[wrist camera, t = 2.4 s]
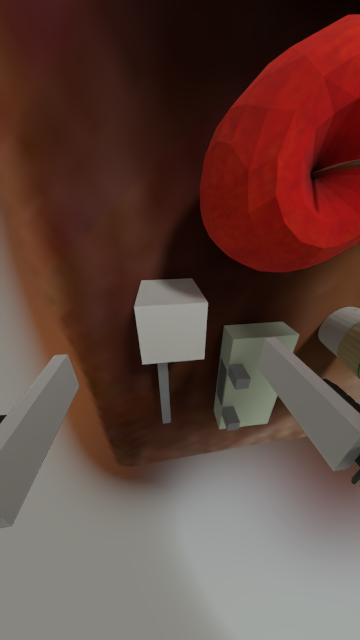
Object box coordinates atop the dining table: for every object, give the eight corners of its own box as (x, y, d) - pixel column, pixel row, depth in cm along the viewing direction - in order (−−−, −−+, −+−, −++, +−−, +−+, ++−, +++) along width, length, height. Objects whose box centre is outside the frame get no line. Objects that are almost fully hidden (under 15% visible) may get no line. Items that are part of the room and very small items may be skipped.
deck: (155, 330, 22) (155, 360, 17) (282, 321, 24) (315, 346, 19) (163, 416, 30) (164, 453, 25) (257, 405, 32) (276, 438, 27)
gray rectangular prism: (141, 280, 19) (134, 306, 13) (192, 278, 20) (208, 302, 13) (146, 325, 22) (142, 364, 16) (191, 322, 22) (204, 359, 16)
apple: (232, 88, 13) (555, -505, 2) (313, 177, 16) (604, 89, 6) (166, 219, 17) (182, 210, 6) (243, 272, 20) (344, 327, 9)
